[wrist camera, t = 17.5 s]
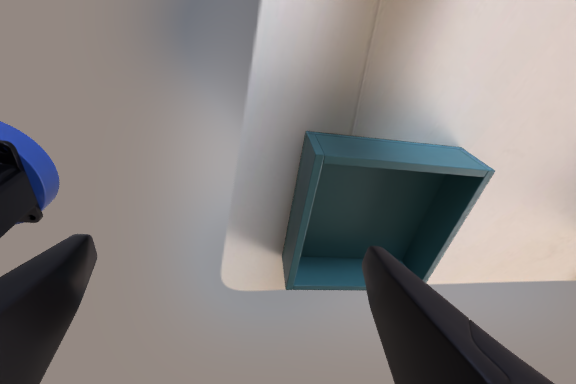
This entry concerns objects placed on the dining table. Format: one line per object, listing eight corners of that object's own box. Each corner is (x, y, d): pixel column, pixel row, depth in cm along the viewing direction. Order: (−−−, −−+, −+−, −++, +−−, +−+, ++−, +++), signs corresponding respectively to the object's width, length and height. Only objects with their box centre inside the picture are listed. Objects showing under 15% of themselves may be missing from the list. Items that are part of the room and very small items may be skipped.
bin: (281, 256, 28) (285, 289, 25) (305, 130, 21) (315, 154, 18) (403, 259, 30) (421, 291, 27) (461, 147, 23) (495, 170, 20)
